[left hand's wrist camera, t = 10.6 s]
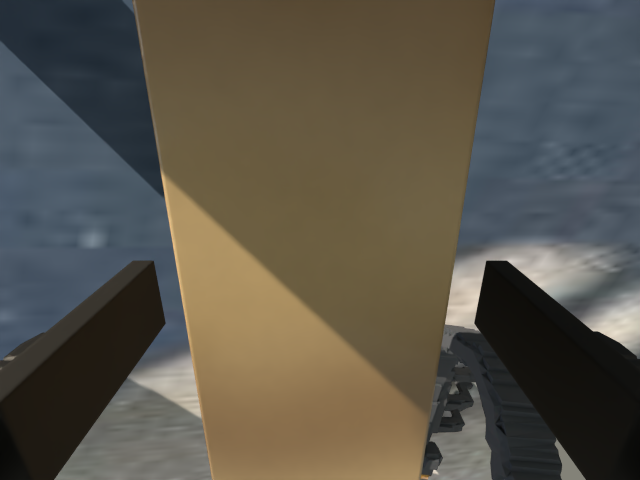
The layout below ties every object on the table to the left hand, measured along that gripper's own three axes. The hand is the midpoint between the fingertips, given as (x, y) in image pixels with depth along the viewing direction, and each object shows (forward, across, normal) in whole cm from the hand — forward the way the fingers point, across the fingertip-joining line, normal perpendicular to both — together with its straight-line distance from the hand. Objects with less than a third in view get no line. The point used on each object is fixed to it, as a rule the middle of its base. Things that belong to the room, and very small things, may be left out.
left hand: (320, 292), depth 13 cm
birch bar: (+3, 0, +8) cm, 8 cm away
